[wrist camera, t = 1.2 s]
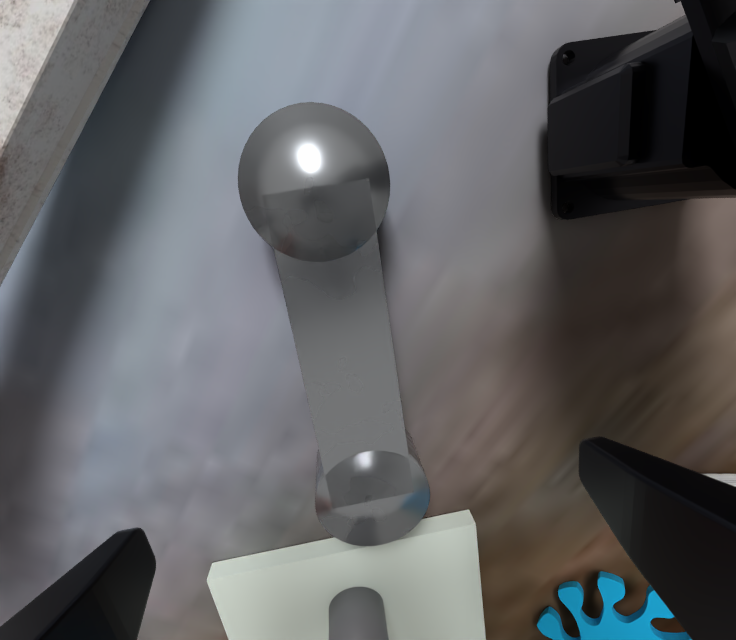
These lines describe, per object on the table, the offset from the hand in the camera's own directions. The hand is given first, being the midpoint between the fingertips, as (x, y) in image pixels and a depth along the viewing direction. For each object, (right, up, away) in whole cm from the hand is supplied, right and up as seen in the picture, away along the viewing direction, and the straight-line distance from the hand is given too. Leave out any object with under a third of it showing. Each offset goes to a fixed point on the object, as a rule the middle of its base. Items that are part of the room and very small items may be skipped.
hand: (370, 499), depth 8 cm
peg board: (0, -16, +15) cm, 23 cm away
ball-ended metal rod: (-1, +3, +10) cm, 10 cm away
